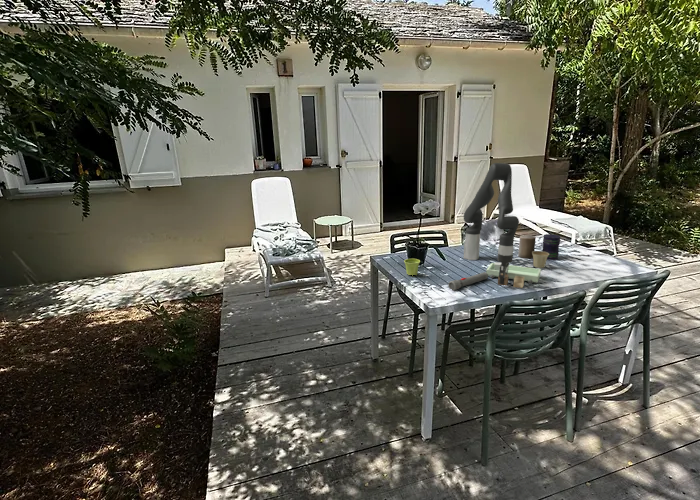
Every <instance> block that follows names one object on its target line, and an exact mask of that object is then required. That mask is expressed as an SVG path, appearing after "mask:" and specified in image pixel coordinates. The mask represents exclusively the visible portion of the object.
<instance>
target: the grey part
mask: <svg viewBox="0 0 700 500" xmlns="http://www.w3.org/2000/svg"><path fill="white" fill-rule="evenodd" d="M494 263H495V270H497V271H500V265H501V264H502V263H501V262H499V261H498V262H496V261H495V262H494Z"/></svg>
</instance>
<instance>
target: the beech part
mask: <svg viewBox="0 0 700 500" xmlns="http://www.w3.org/2000/svg"><path fill="white" fill-rule="evenodd" d="M524 285H525V281H524V277H521V276H515V278H514V279H513V288H518V289H523V287H524Z"/></svg>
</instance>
